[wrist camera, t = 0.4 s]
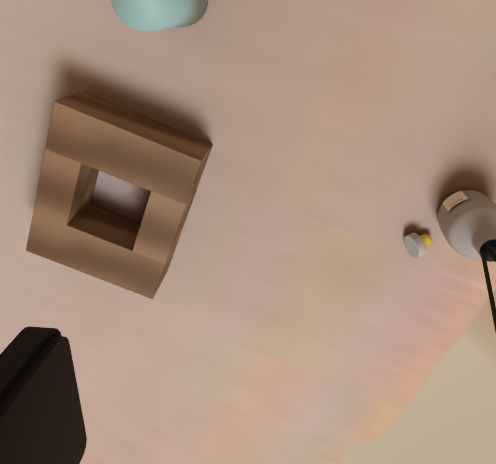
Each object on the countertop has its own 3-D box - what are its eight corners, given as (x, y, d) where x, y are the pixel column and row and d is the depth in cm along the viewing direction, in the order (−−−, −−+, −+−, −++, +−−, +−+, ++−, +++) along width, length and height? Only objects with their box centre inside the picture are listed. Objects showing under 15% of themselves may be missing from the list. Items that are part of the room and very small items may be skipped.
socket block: (82, 91, 41) (54, 101, 36) (212, 144, 42) (201, 161, 37) (52, 227, 47) (25, 250, 42) (167, 271, 48) (152, 299, 43)
